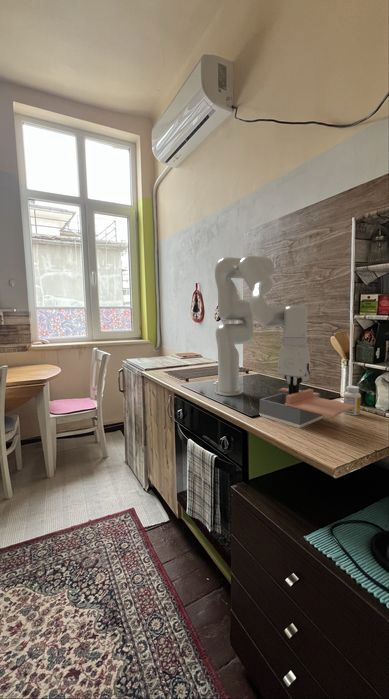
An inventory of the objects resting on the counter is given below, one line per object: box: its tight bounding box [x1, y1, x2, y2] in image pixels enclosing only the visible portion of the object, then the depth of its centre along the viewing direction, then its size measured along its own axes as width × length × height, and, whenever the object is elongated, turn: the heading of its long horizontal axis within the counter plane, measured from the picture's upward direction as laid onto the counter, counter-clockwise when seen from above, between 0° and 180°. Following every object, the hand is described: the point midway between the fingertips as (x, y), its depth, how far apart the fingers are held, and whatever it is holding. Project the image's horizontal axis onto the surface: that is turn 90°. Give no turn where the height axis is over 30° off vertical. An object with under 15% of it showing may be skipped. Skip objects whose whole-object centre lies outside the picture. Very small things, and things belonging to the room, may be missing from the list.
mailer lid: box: [285, 388, 355, 418], centre depth 99 cm, size 16×15×3 cm
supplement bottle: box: [343, 385, 362, 416], centre depth 111 cm, size 5×5×10 cm
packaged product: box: [277, 387, 321, 398], centre depth 128 cm, size 18×5×10 cm
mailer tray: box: [258, 393, 324, 429], centre depth 108 cm, size 16×14×6 cm
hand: (293, 395), depth 107 cm, fingers closed
